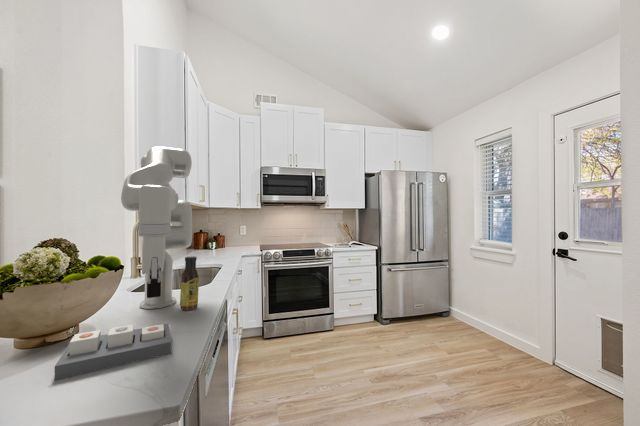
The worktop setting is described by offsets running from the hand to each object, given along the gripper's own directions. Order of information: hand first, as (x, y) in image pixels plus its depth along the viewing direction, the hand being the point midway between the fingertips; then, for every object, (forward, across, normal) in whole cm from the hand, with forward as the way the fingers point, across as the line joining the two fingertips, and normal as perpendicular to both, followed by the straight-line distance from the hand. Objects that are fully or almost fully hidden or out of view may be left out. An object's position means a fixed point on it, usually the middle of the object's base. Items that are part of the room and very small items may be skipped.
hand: (153, 296), depth 74 cm
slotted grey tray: (+13, +1, -7) cm, 15 cm away
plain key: (+11, +1, -7) cm, 13 cm away
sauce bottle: (+14, -27, +12) cm, 33 cm away
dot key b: (+11, +1, -14) cm, 18 cm away
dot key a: (+13, +1, 0) cm, 13 cm away
